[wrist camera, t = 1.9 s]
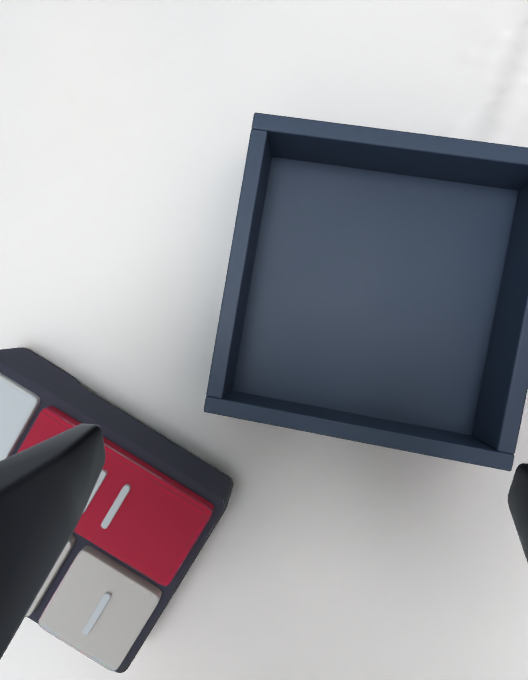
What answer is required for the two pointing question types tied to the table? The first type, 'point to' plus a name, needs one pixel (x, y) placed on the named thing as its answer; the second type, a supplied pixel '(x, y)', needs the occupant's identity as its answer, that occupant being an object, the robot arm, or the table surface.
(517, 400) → the tray
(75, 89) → the table surface
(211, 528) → the calculator
